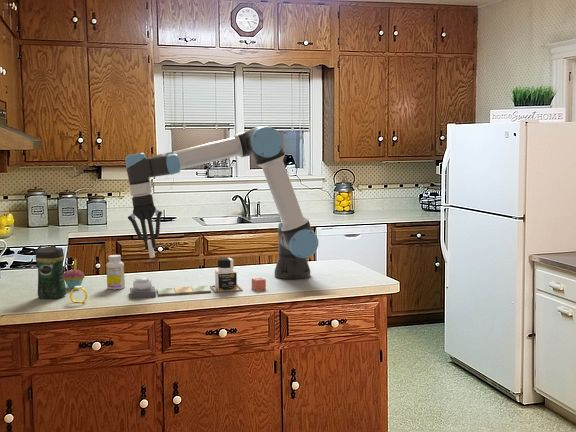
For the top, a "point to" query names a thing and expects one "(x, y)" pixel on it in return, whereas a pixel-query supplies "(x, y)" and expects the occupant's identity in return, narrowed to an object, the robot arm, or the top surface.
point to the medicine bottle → (225, 275)
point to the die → (258, 284)
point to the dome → (142, 284)
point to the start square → (225, 291)
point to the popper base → (142, 293)
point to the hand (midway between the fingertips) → (152, 257)
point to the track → (183, 290)
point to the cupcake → (73, 277)
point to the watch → (81, 289)
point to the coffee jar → (50, 272)
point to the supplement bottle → (115, 272)
